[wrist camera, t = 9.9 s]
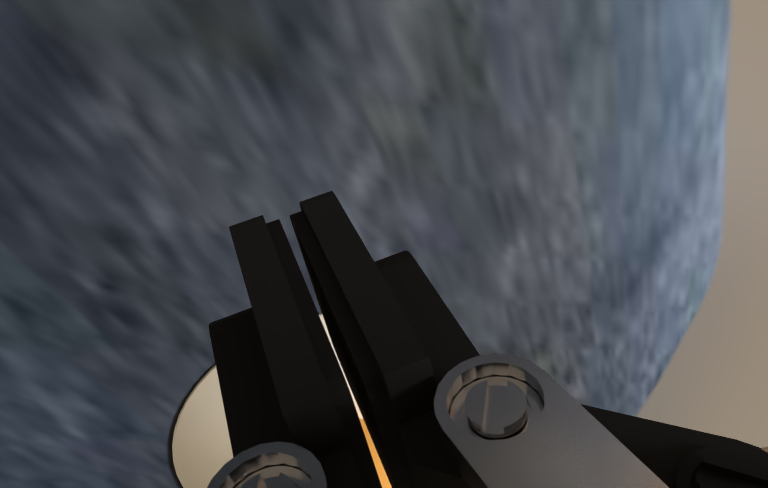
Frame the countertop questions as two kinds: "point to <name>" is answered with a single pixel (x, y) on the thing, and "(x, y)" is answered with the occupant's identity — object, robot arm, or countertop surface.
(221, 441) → the disc
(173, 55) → the countertop surface
